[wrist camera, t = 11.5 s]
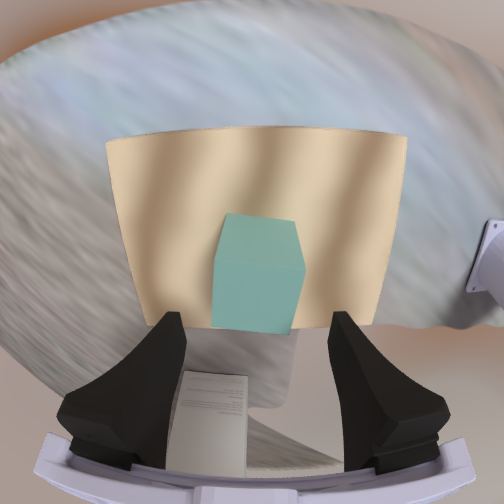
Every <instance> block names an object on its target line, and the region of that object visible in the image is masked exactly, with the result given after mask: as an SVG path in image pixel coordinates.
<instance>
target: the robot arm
mask: <svg viewBox="0 0 504 504" xmlns="http://www.w3.org/2000/svg"><path fill="white" fill-rule="evenodd" d="M466 291H467V292H468V293H470V292H479V291H488V292H489V293H490V294H491V295H492V296H493V298H494V299H495V300H496V301H497V303H498V304H499V305H500V306H501V308H502V309H503V310H504V220H494V219H491V220H489V221H488V223H487V226H486V230H485V233H484V237H483V240H482V243H481V246H480V250H479V253H478V256H477V259H476V262H475V265H474V267H473V270H472V273H471V276H470V278H469V281H468V284H467V286H466ZM186 343H187V340H186V336H185V332H184V328H183V324H182V320H181V315H180V312H174V311H167V312H166V313H165V315H164V316H163V317H162V318H161V319H160V321H159V322H158V323H157V324H156V325H155V326H154V328H153V329H152V330H151V331H150V332H149V333H148V335H147V336H146V337H145V338H144V339H143V340H142V341H141V342H140V343H139V344H138V345H137V346H136V347H135V348H134V349H133V350H132V351H131V352H130V353H129V354H128V355H127V356H126V357H125V358H124V359H123V360H122V361H120V362H119V363H118V364H117V365H116V366H114V367H113V368H111V369H110V370H109V371H107V372H106V373H104V374H103V375H102V376H100V377H99V378H97V379H95V380H94V381H92V382H90V383H88V384H87V385H85V386H83V387H81V388H79V389H77V390H75V391H72V392H70V393H68V394H66V396H65V398H64V400H63V402H62V404H61V406H60V408H59V411H58V413H57V416H56V417H57V419H58V421H59V422H60V424H61V425H62V426H63V427H64V428H65V429H66V430H67V431H68V432H69V433H70V434H71V435H72V436H73V439H72V442H71V441H70V440H68V439H66V438H64V437H61V436H58V435H56V434H53V433H51V432H48V434H47V436H46V439H45V441H44V443H43V446H42V448H41V451H40V454H39V456H38V459H37V462H36V465H35V467H34V470H33V471H34V473H35V474H37V475H38V476H40V477H42V478H43V479H45V480H46V481H48V482H49V483H51V484H53V485H54V486H56V487H58V488H59V489H61V490H63V491H66V492H68V493H70V494H72V495H75V496H77V497H80V498H82V499H84V500H87V501H89V502H92V503H95V504H429V503H432V502H434V501H436V500H439V499H442V498H444V497H446V496H449V495H451V494H452V493H454V492H456V491H458V490H459V489H461V488H463V487H464V486H466V485H468V484H469V483H471V482H472V481H474V480H475V479H476V475H475V472H474V468H473V465H472V462H471V459H470V455H469V452H468V450H467V446H466V444H465V440H464V438H463V437H460V438H457V439H454V440H452V441H449V442H446V443H444V444H442V445H440V446H438V445H437V441H438V440H439V436H438V433H437V432H438V431H439V430H440V429H441V428H442V427H443V426H444V425H445V424H446V423H447V421H448V420H449V418H450V415H451V414H450V412H449V409H448V406H447V404H446V402H445V400H444V398H443V397H442V396H440V395H438V394H436V393H433V392H432V391H430V390H428V389H426V388H424V387H423V386H421V385H420V384H418V383H416V382H415V381H413V380H412V379H410V378H409V377H408V376H406V375H405V374H404V373H402V372H401V371H400V370H399V369H397V368H396V367H395V366H394V365H393V364H392V363H390V362H389V361H388V360H387V359H386V358H385V357H384V356H383V355H382V354H381V353H380V352H379V351H378V350H377V349H376V347H375V346H374V345H373V344H372V343H371V342H370V341H369V340H368V338H367V337H366V336H365V335H364V333H363V332H362V331H361V330H360V329H359V327H358V326H357V324H356V323H355V322H354V321H353V319H352V318H351V317H350V315H349V314H348V313H347V312H346V311H333V317H332V322H331V327H330V332H329V337H328V350H329V358H330V363H331V367H332V371H333V375H334V379H335V383H336V388H337V392H338V395H339V401H340V406H341V416H342V426H343V438H344V439H343V440H344V472H343V473H336V474H328V475H318V476H307V477H291V478H234V477H218V476H207V475H197V474H189V473H181V472H175V471H168V470H166V449H167V437H168V428H169V420H170V413H171V406H172V401H173V397H174V393H175V390H176V386H177V383H178V379H179V376H180V372H181V369H182V365H183V362H184V357H185V350H186Z"/></svg>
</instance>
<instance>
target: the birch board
mask: <svg viewBox="0 0 504 504" xmlns="http://www.w3.org/2000/svg"><path fill="white" fill-rule="evenodd" d="M406 149H407V137H404V136H401V135H398V134H391V133H383V132H375V131H365V130H354V129H342V128H327V127H304V126H241V127H218V128H203V129H190V130H179V131H169V132H160V133H152V134H145V135H137V136H131V137H124V138H118V139H114V140H111V141H108V142H106V150H107V157H108V164H109V171H110V177H111V183H112V188H113V194H114V199H115V204H116V209H117V214H118V219H119V224H120V228H121V233H122V237H123V241H124V246H125V250H126V254H127V258H128V262H129V265H130V269H131V273H132V277H133V280H134V284H135V287H136V291H137V294H138V297H139V301H140V304H141V307H142V311H143V314H144V317H145V320H146V323H147V325H148V326H155V325H156V324H157V323H158V322H159V321H160V319H161V318H162V317H163V316H164V315H165V313H166V312H167V311H174V312H180V315H181V320H182V324H183V328H210V329H224V328H216V327H211V318H212V296H213V276H214V260H215V256H216V252H217V248H218V245H219V241H220V237H221V233H222V229H223V226H224V222H225V218H226V215H227V213H232V214H241V215H249V216H258V217H266V218H274V219H282V220H290V221H294V222H295V226H296V229H297V233H298V238H299V242H300V246H301V250H302V254H303V258H304V262H305V267H306V274H305V278H304V282H303V286H302V289H301V293H300V297H299V301H298V304H297V308H296V312H295V315H294V319H293V323H292V326H291V329H297V328H324V327H331V322H332V317H333V311H346V312H347V313H348V314H349V315H350V317H351V318H352V319H353V321H354V322H355V323H356V324H357V326H358V325H371V324H372V321H373V317H374V314H375V311H376V307H377V304H378V300H379V296H380V293H381V289H382V285H383V281H384V277H385V273H386V269H387V265H388V260H389V256H390V251H391V247H392V242H393V237H394V232H395V227H396V221H397V216H398V210H399V204H400V197H401V191H402V183H403V176H404V168H405V159H406Z"/></svg>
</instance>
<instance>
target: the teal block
mask: <svg viewBox="0 0 504 504" xmlns="http://www.w3.org/2000/svg"><path fill="white" fill-rule="evenodd" d="M305 274H306V267H305V262H304V258H303V254H302V250H301V246H300V242H299V238H298V233H297V229H296V226H295V222H294V221H290V220H282V219H274V218H266V217H258V216H249V215H241V214H232V213H227V215H226V218H225V222H224V226H223V229H222V233H221V237H220V241H219V245H218V248H217V252H216V256H215V260H214V276H213V296H212V318H211V327H216V328H224V329H233V330H242V331H252V332H262V333H273V334H286V335H289V333H290V330H291V326H292V323H293V319H294V315H295V312H296V308H297V304H298V301H299V297H300V293H301V289H302V286H303V282H304V278H305Z"/></svg>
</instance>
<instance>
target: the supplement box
mask: <svg viewBox="0 0 504 504" xmlns="http://www.w3.org/2000/svg"><path fill="white" fill-rule="evenodd" d="M247 417H248V376H240V375H225V374H212V373H202V372H193V371H184V374H183V378H182V383H181V387H180V392H179V396H178V401H177V406H176V411H175V415H174V420H173V425H172V430H171V435H170V440H169V445H168V450H167V455H166V470H168V471H175V472H181V473H189V474H197V475H207V476H218V477H234V478H246V450H247Z"/></svg>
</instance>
